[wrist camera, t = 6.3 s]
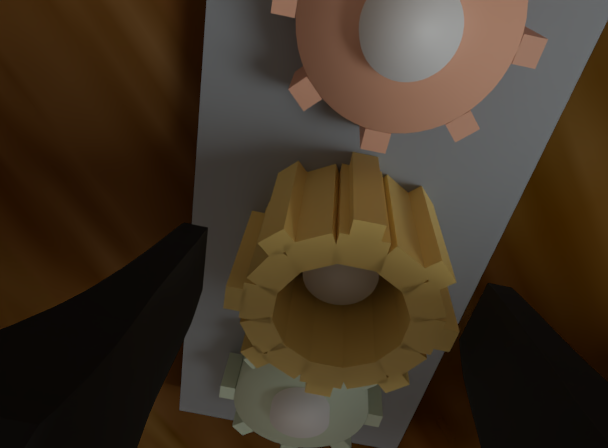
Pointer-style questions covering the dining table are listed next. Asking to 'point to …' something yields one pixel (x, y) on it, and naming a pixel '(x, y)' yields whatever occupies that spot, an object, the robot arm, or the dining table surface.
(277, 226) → the loose gear
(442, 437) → the dining table surface
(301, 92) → the gear board
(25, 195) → the dining table surface
